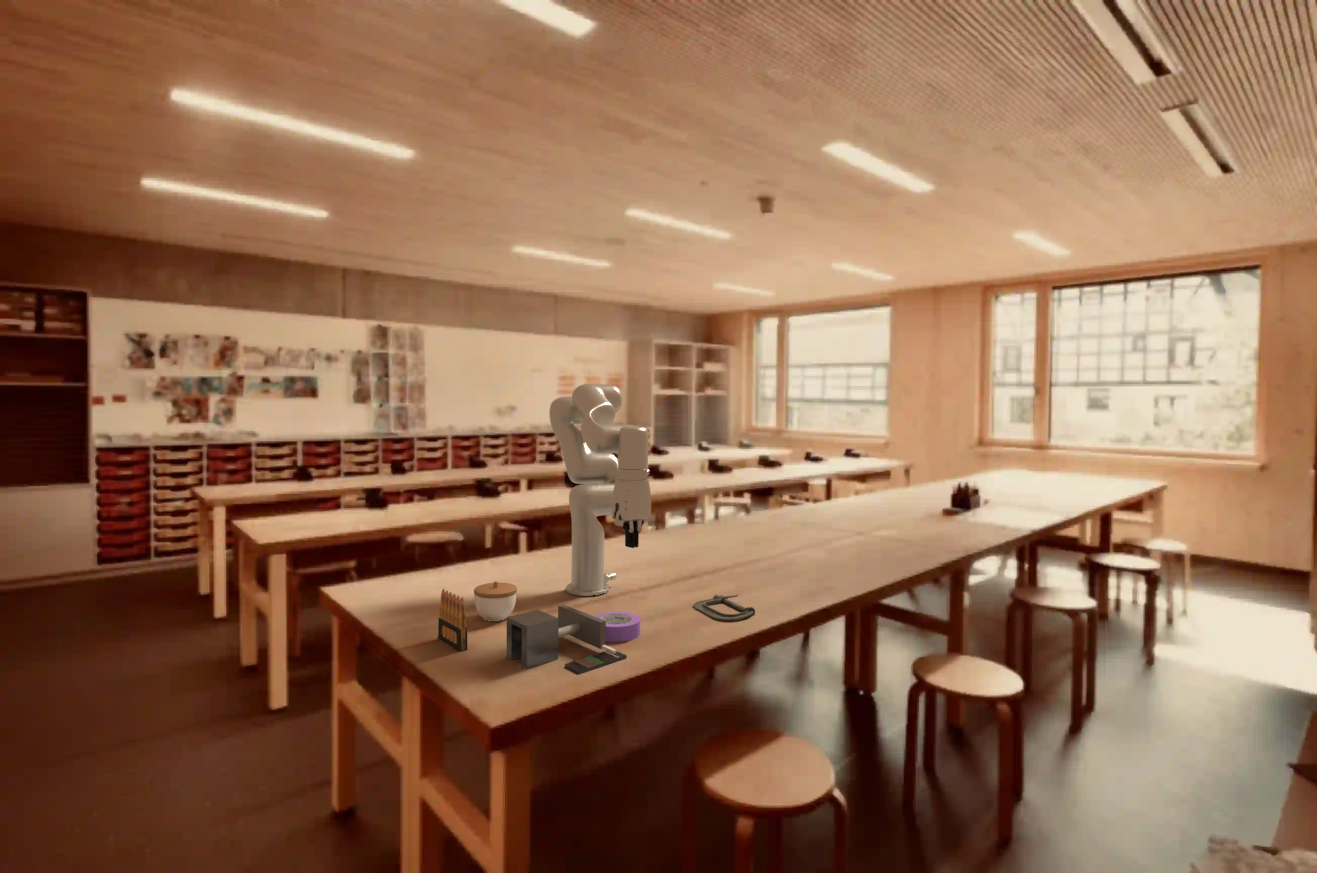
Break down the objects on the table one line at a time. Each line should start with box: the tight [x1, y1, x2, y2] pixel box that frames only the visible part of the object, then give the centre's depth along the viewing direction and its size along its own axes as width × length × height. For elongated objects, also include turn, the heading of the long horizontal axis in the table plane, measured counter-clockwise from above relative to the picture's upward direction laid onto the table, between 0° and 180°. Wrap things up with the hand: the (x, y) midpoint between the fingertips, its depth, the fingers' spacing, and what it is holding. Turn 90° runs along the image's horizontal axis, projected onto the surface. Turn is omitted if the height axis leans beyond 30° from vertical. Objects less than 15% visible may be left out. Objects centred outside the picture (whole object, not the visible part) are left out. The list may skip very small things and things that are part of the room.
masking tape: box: [594, 611, 641, 643], centre depth 164 cm, size 12×12×4 cm
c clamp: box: [692, 593, 756, 623], centre depth 185 cm, size 20×17×3 cm
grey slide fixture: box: [505, 609, 628, 675], centre depth 148 cm, size 20×18×9 cm
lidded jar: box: [473, 580, 518, 622], centre depth 174 cm, size 11×11×9 cm
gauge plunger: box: [557, 604, 617, 653], centre depth 150 cm, size 16×20×6 cm
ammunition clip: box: [437, 588, 468, 653], centre depth 155 cm, size 11×2×12 cm, turn 44°
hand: (631, 546), depth 173 cm, fingers closed
